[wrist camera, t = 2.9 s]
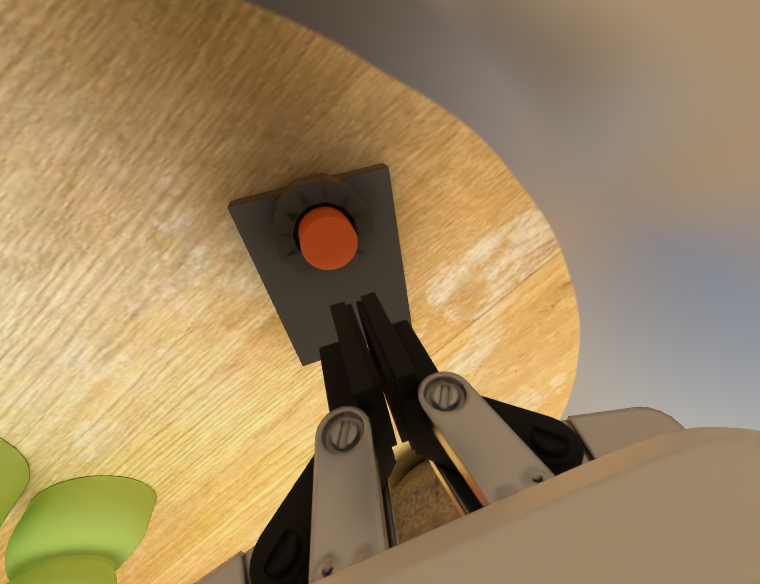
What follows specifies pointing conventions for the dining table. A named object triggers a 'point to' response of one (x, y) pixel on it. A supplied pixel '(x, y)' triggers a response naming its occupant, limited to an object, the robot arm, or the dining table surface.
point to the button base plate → (317, 286)
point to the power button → (327, 238)
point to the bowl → (421, 503)
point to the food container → (72, 525)
